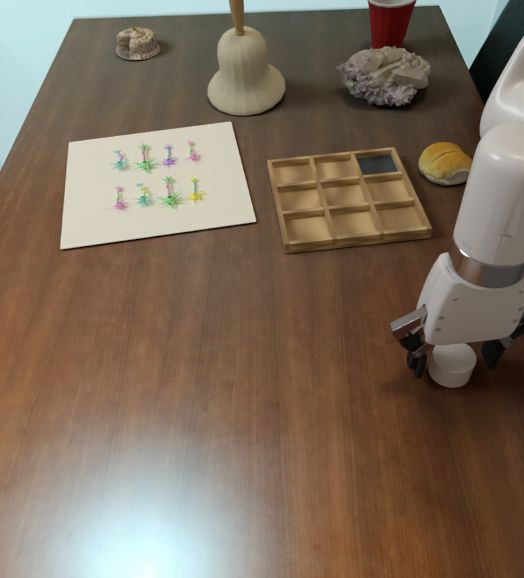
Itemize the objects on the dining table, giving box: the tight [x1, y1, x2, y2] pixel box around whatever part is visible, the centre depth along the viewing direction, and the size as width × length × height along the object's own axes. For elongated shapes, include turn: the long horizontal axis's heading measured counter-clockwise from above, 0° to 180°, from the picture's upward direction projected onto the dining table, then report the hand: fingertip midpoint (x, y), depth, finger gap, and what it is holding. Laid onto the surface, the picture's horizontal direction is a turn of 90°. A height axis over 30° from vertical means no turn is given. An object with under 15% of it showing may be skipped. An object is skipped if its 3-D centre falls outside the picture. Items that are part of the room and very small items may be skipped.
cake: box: [115, 26, 161, 61], centre depth 128 cm, size 10×10×5 cm
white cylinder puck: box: [427, 343, 477, 389], centre depth 69 cm, size 5×5×3 cm
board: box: [266, 146, 433, 255], centre depth 92 cm, size 22×22×2 cm
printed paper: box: [59, 121, 257, 250], centre depth 98 cm, size 30×30×2 cm
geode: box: [335, 46, 432, 107], centre depth 110 cm, size 17×9×15 cm
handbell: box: [207, 0, 286, 117], centre depth 104 cm, size 15×15×25 cm
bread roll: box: [418, 141, 473, 186], centre depth 95 cm, size 8×9×4 cm
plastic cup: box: [366, 0, 418, 49], centre depth 119 cm, size 11×11×12 cm
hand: (451, 364), depth 69 cm, fingers open, 8 cm apart
